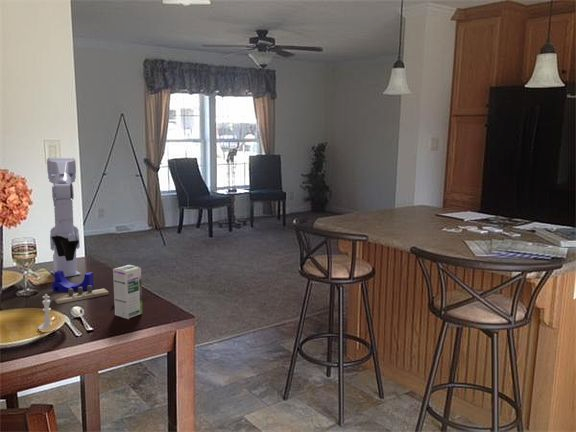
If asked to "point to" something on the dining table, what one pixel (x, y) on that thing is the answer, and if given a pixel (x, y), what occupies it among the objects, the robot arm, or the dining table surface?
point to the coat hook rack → (80, 294)
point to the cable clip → (64, 284)
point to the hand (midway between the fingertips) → (65, 258)
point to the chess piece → (46, 314)
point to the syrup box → (127, 291)
